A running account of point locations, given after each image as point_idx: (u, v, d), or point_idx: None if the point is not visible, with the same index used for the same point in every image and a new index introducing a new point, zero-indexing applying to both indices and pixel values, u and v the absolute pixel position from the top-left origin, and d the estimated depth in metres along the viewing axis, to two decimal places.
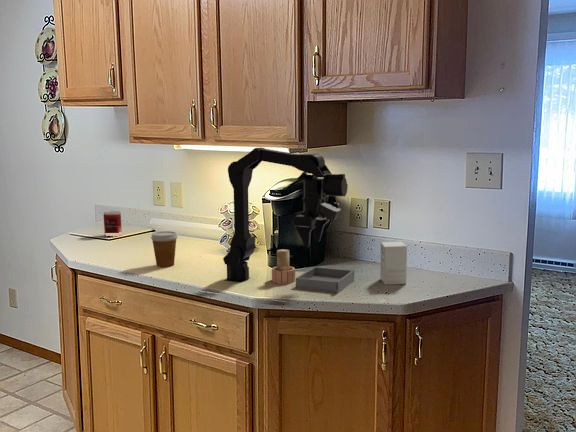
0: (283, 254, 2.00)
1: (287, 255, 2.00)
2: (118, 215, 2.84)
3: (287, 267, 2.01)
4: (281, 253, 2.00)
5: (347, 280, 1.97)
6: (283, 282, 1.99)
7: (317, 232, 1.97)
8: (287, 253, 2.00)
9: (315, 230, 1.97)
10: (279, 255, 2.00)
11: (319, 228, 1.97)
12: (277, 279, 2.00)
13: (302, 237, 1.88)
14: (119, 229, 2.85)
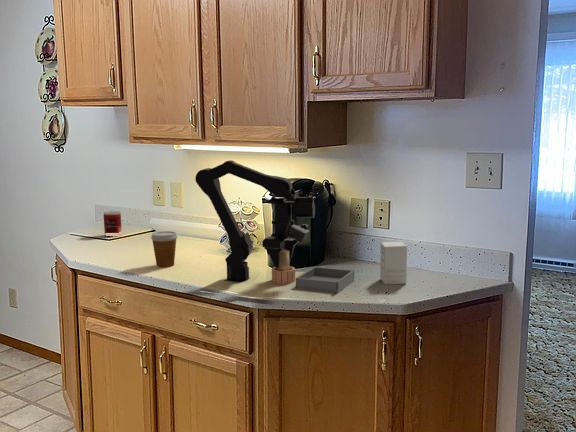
0: (283, 254, 2.00)
1: (287, 255, 2.00)
2: (118, 215, 2.84)
3: (287, 267, 2.01)
4: (281, 253, 2.00)
5: (347, 280, 1.97)
6: (283, 282, 1.99)
7: None
8: (287, 253, 2.00)
9: None
10: None
11: (289, 249, 2.06)
12: (277, 279, 2.00)
13: (272, 258, 1.97)
14: (119, 229, 2.85)
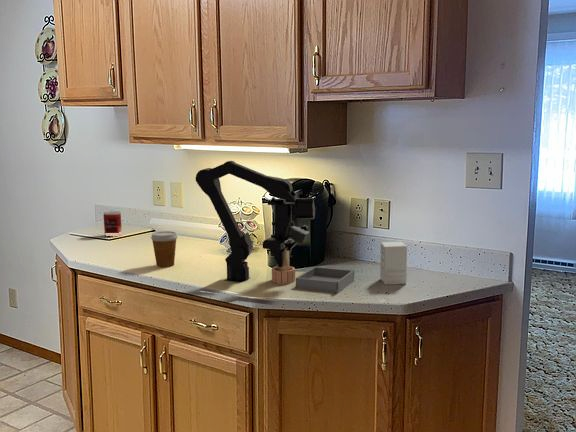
0: None
1: (287, 255, 2.00)
2: (118, 215, 2.84)
3: (287, 267, 2.01)
4: None
5: (347, 280, 1.97)
6: (283, 282, 1.99)
7: None
8: (287, 253, 2.00)
9: None
10: None
11: None
12: (277, 279, 2.00)
13: (276, 257, 1.99)
14: (119, 229, 2.85)
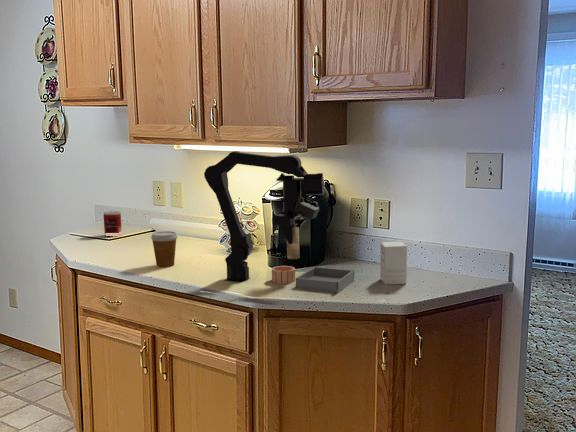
0: None
1: (297, 232, 1.98)
2: (118, 215, 2.84)
3: (297, 244, 1.99)
4: None
5: (347, 280, 1.97)
6: (283, 282, 1.99)
7: None
8: (297, 230, 1.98)
9: None
10: None
11: None
12: (277, 279, 2.00)
13: (285, 234, 1.97)
14: (119, 229, 2.85)
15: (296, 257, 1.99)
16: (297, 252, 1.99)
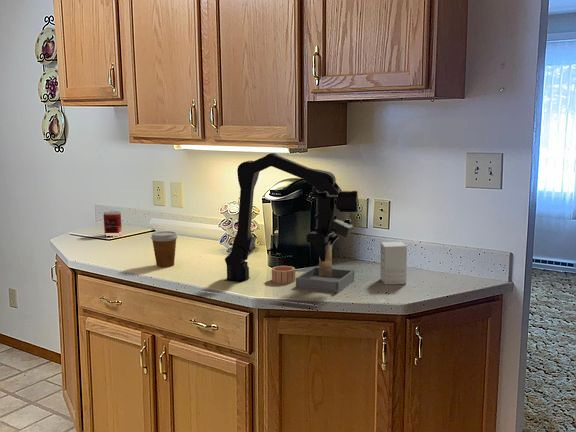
0: None
1: (330, 249, 1.96)
2: (118, 215, 2.84)
3: (329, 261, 1.97)
4: None
5: (347, 280, 1.97)
6: (283, 282, 1.99)
7: None
8: (330, 247, 1.96)
9: None
10: None
11: None
12: (277, 279, 2.00)
13: (318, 252, 1.95)
14: (119, 229, 2.85)
15: (328, 275, 1.97)
16: (329, 270, 1.97)
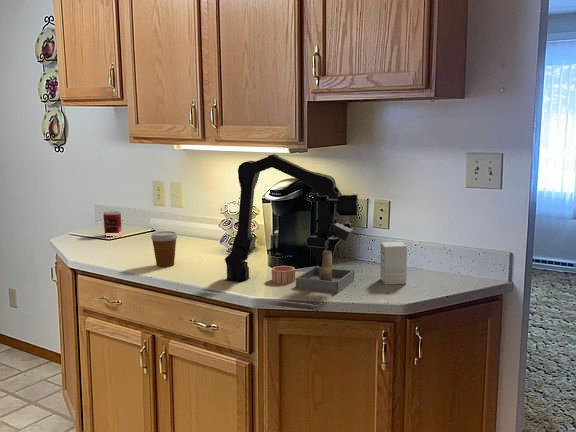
0: (326, 255, 1.96)
1: (330, 256, 1.97)
2: (118, 215, 2.84)
3: (330, 268, 1.97)
4: (324, 254, 1.96)
5: (347, 280, 1.97)
6: (283, 282, 1.99)
7: None
8: (330, 254, 1.96)
9: (327, 249, 2.02)
10: None
11: (331, 247, 2.02)
12: (277, 279, 2.00)
13: (315, 257, 1.93)
14: (119, 229, 2.85)
15: None
16: (330, 276, 1.98)
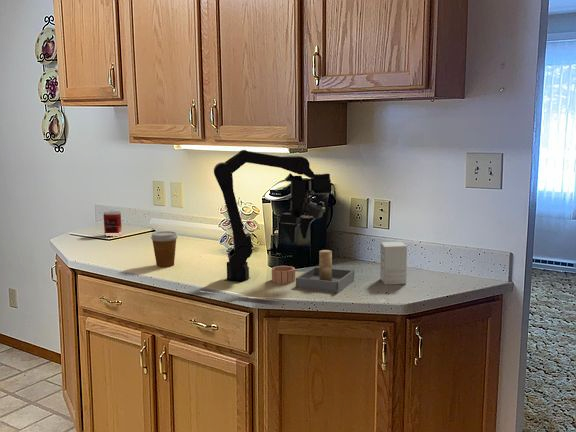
0: (326, 255, 1.96)
1: (330, 256, 1.97)
2: (118, 215, 2.84)
3: (330, 268, 1.97)
4: (324, 254, 1.96)
5: (347, 280, 1.97)
6: (283, 282, 1.99)
7: (304, 229, 2.10)
8: (330, 254, 1.96)
9: (302, 227, 2.11)
10: (321, 256, 1.96)
11: (305, 226, 2.10)
12: (277, 279, 2.00)
13: (288, 233, 2.02)
14: (119, 229, 2.85)
15: None
16: (330, 276, 1.98)
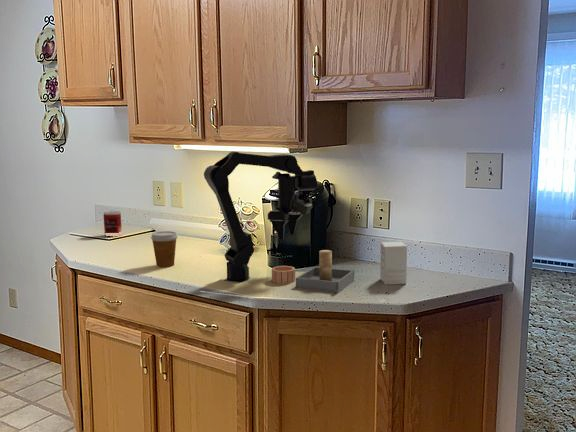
0: (326, 255, 1.96)
1: (330, 256, 1.97)
2: (118, 215, 2.84)
3: (330, 268, 1.97)
4: (324, 254, 1.96)
5: (347, 280, 1.97)
6: (283, 282, 1.99)
7: (292, 226, 2.15)
8: (330, 254, 1.96)
9: (290, 224, 2.16)
10: (321, 256, 1.96)
11: (293, 222, 2.15)
12: (277, 279, 2.00)
13: (277, 230, 2.06)
14: (119, 229, 2.85)
15: None
16: (330, 276, 1.98)
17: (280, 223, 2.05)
